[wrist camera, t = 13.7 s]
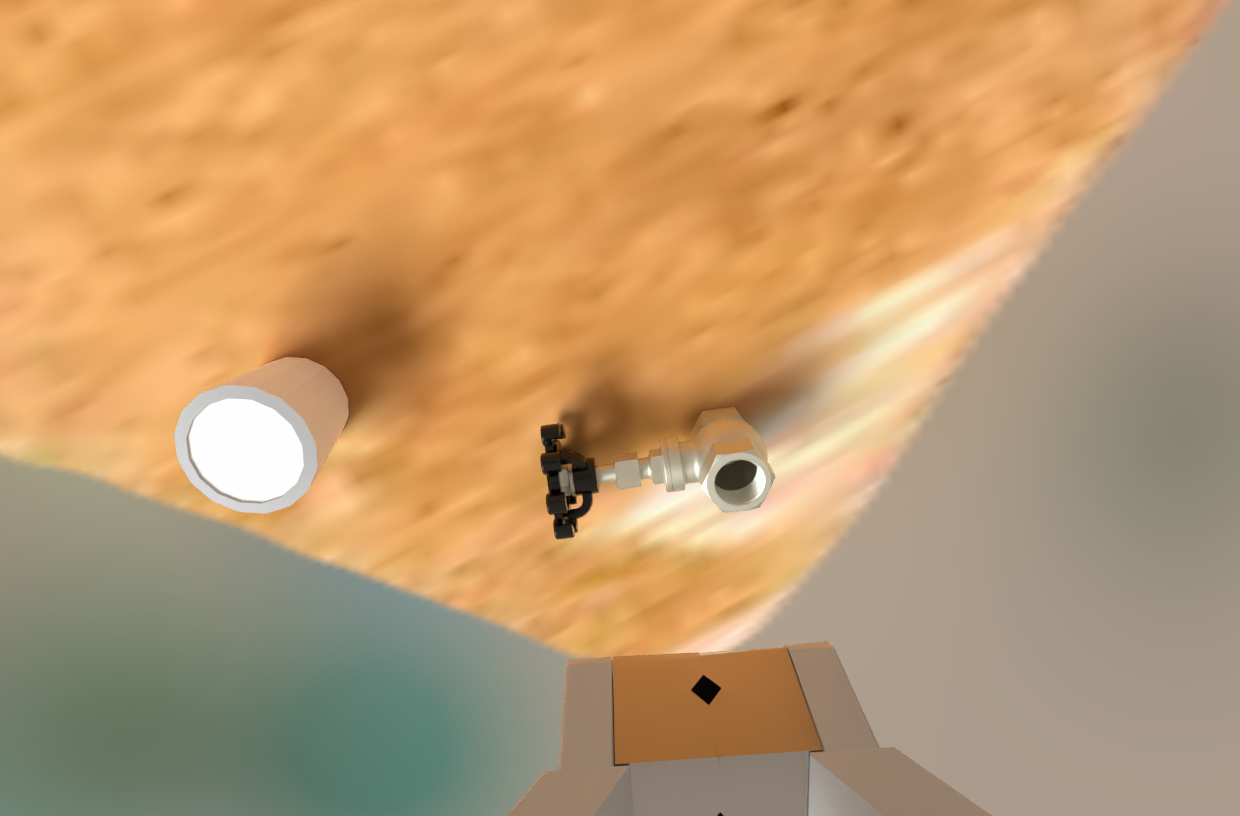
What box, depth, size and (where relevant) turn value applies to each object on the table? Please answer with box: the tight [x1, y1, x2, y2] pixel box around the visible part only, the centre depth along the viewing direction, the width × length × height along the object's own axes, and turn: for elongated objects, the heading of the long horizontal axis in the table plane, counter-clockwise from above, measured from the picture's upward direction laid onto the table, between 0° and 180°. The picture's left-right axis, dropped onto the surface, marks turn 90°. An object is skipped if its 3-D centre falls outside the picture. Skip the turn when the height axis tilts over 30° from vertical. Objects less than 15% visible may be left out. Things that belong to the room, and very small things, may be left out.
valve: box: [540, 407, 775, 539], centre depth 42 cm, size 7×7×12 cm
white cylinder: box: [174, 357, 349, 513], centre depth 40 cm, size 7×7×7 cm
